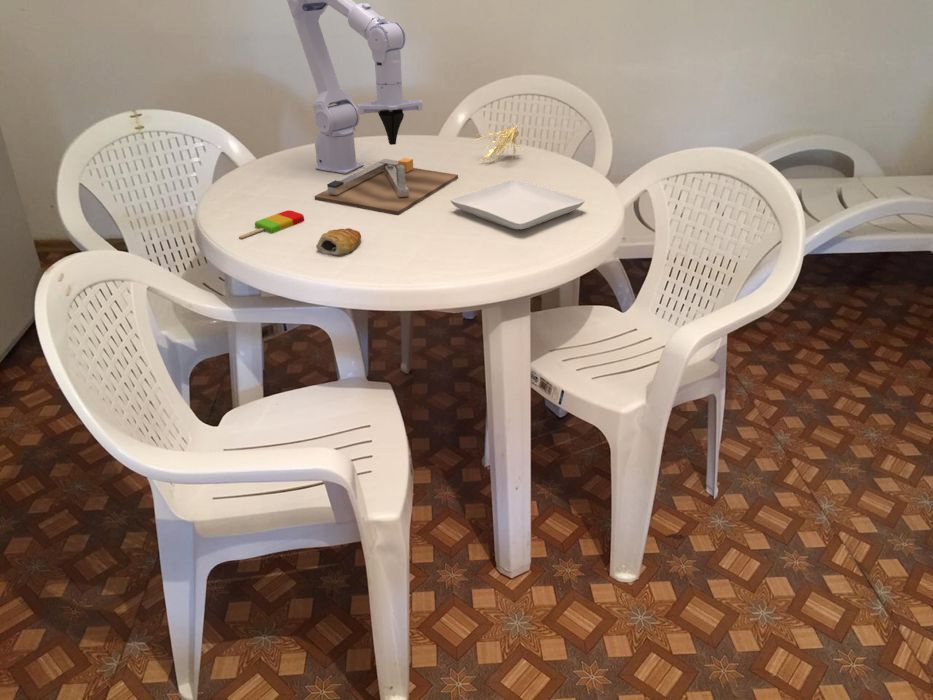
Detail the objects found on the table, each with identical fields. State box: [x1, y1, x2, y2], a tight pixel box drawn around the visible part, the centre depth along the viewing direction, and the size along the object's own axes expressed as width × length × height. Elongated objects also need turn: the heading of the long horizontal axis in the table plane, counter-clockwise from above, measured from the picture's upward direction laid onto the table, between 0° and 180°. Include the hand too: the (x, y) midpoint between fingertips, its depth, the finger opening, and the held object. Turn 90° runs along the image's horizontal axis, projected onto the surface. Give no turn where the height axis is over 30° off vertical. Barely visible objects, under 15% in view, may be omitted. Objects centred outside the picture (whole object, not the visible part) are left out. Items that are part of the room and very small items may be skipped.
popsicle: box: [238, 209, 305, 240], centre depth 148 cm, size 6×15×2 cm, turn 142°
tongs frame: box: [326, 158, 399, 195], centre depth 171 cm, size 24×5×2 cm, turn 153°
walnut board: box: [313, 167, 459, 216], centre depth 169 cm, size 28×22×1 cm
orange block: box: [397, 157, 414, 172], centre depth 177 cm, size 3×2×2 cm
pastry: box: [315, 227, 362, 256], centre depth 139 cm, size 9×7×4 cm
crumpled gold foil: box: [471, 123, 523, 163], centre depth 186 cm, size 11×15×9 cm
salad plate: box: [450, 178, 586, 230], centre depth 155 cm, size 21×21×3 cm
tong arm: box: [385, 164, 409, 197], centre depth 167 cm, size 18×2×6 cm, turn 15°
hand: (392, 143), depth 168 cm, fingers closed
